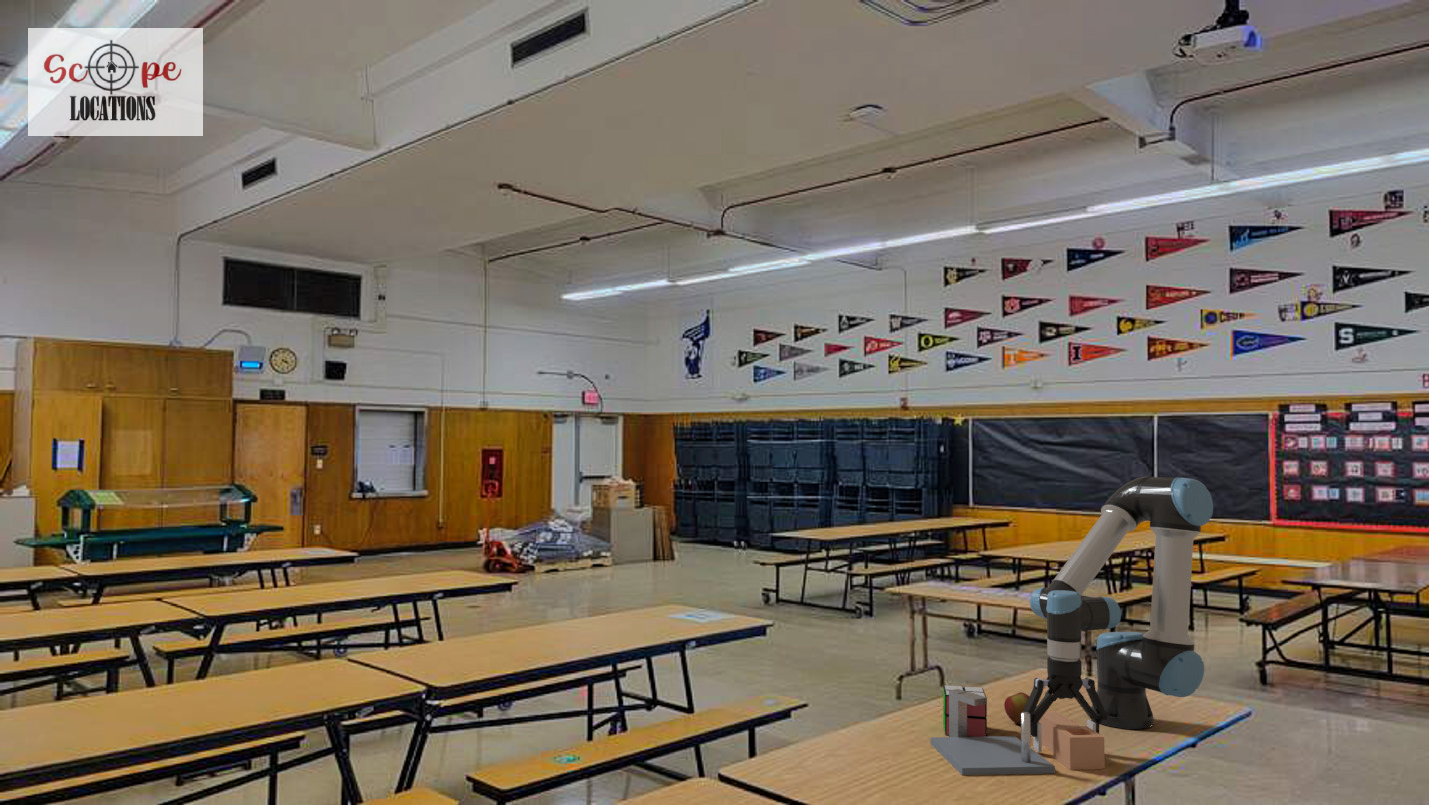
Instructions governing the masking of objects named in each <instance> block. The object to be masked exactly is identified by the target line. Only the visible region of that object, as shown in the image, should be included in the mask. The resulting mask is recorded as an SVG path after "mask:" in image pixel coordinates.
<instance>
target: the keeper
mask: <svg viewBox="0 0 1429 805" xmlns="http://www.w3.org/2000/svg"><path fill="white" fill-rule="evenodd" d="M967 704H970V705H973V706H978V705H984V704H987V705H988V697H987V696H986V697H984V696H981V695H978V694H975V693H971V692H966V691H963V690H960V689H954V690H949V736H948V737H967Z"/></svg>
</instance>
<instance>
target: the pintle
mask: <svg viewBox="0 0 1429 805" xmlns="http://www.w3.org/2000/svg"><path fill="white" fill-rule="evenodd" d="M1031 738H1032V736H1031V718H1030V713H1028V712H1021V724H1020V740H1021V761H1022V762H1025V763H1030V762H1031V749H1032V747H1031V746H1032V745H1031V744H1032V743H1031V742H1032V741H1031Z"/></svg>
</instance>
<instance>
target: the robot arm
mask: <svg viewBox="0 0 1429 805" xmlns="http://www.w3.org/2000/svg"><path fill="white" fill-rule="evenodd" d="M1100 513H1101V515H1100V517H1099V518H1098V519H1097V520H1096V522H1095V523H1094V524H1093V526H1092V527H1091V528H1090V530H1089V532H1087V534H1086V535H1085V537H1084V538H1083V540H1081V542H1080V543H1079V545H1078V547H1077V548H1076V549H1075V550H1074V552H1073V553H1072V554H1071V555H1070V556H1069V558H1068V560H1067V561H1066V562H1065V563H1064V565H1063V566H1062V567H1061V569H1060V571H1059V572H1058V574H1057V575H1056V576H1055V578H1054V579H1053V580H1052V581H1051V583H1050V584H1049V586H1048V587H1039V588H1036V589H1034V590H1033V591H1032V593H1031V595H1030V598H1029V606H1030V609H1031V611H1032V612H1033V613H1034V615H1036V616H1037V617H1040V618H1043V619H1046V628H1047V629H1046V632H1047V634H1046V635H1047V636H1046V637H1047V639H1046V641H1047V642H1046V645H1047V646H1046V647H1047V648H1046V651H1047V655H1048V657H1047V659H1046V660H1047V661H1046V664H1047V665H1046V666H1047V667H1046V670H1047V671H1046V672H1047V677H1046V679H1041V678H1040V677H1039V678H1038V677H1035V678H1034V679H1033V687H1032V690H1031V692H1030V694H1029V696H1030V697H1029V699H1028V701H1027V703H1026V706H1025V708H1024V710H1023V712H1028V713H1030V718H1031V737H1033V744H1032V745H1033V748H1032V749H1033V750H1034V751H1035V752H1037V753H1042V751H1043V748H1042V747H1043V745H1042V724H1041V723H1039V720H1040V719H1041V718H1042V716H1043V715H1044V714H1045V712H1046V711H1049V710H1048V709H1049V708H1050V707H1051V706H1052V704H1053V703H1054V702H1056V700H1058V699H1059V700H1065V699H1068V700H1073V699H1075V700H1076V702H1077V703H1078V704H1079V705H1080V707H1081V708H1082V709H1083V711H1084V712H1085V713H1086V714H1087V716H1088V717H1089V719H1087V720H1086V726H1087V727H1089V728H1090V729H1092V730H1094V731H1095V732H1097V733H1098V734H1100V725H1104V726H1108V727H1113V728H1116V729H1117V728H1118V729H1124V730H1125V729H1126V730H1143V729H1142V728H1146V729H1149V728H1148V727H1150V726H1151V725H1153V723H1154V724H1155V722H1154V720H1155V719H1154V713H1153V711H1152V708H1151V705H1150V703H1149V699H1148V697H1147V690H1151V691H1155V692H1158V693H1161V694H1162V695H1163V694H1164V695H1165V696H1173V697H1177V698H1185V697H1189V696H1191V695H1192V694H1194V693H1195V692H1196V690H1197V689H1198V688H1200V686H1201V684H1202V682H1203V680H1204V675H1205V664H1204V661H1203V660H1202V659H1203V658H1202V657H1201V655H1200V654H1199V653H1197V652H1196V651H1195V642H1194V640H1193V639H1191V637H1190V636H1189V622H1190V605H1191V590H1192V589H1191V588H1192V587H1191V586H1192V572H1193V571H1192V569H1193V555H1194V554H1193V551H1194V540H1195V538H1197V537H1198V536H1199V535H1200V534H1201V532H1202V530H1201V529H1202V526H1204V525H1206V524H1208V523H1209V522H1210V519H1211V518H1212V516H1213V513H1214V503H1213V498H1212V496H1211V493H1210V491H1209V489H1207V486H1206V485H1205V484H1203V483H1202V482H1201V481H1199V480H1197V479H1193V478H1188V477H1179V476H1178V477H1172V476H1171V477H1167V476H1164V477H1163V476H1149V475H1148V476H1141V477H1137V478H1135V479H1132V480H1130V481H1129V482H1126V483H1125V484H1123V485H1122V486H1121V487H1120V488H1118V489H1117V490H1116V491H1115V492H1114V493H1113V494H1111V496H1110V497H1109V498H1108V500H1106V502H1105V503H1104V504H1103V505H1102V506H1101V509H1100ZM1143 522H1149V529H1150V530H1151V531H1152V533H1154V536H1155V539H1154V540H1155V541H1154V558H1153V572H1152V574H1153V575H1152V589H1151V590H1152V591H1151V608H1150V625H1149V627H1150V628H1149V630H1147V632H1145V633H1142V632H1137V631H1111V632H1110V631H1109V632H1103V633H1101V634H1099V635H1098V637H1097V642H1096V643H1097V644H1096V669H1097V671H1096V672H1097V673H1096V675H1097V677H1096V678H1097V688H1096V682H1095V680H1093V679H1092V678H1089V677H1085V678H1083V679H1082V661H1081V658H1082V632H1084V631H1096V630H1098V631H1099V630H1103V631H1105V630H1108V629H1113V628H1115V627H1116V626H1118V625H1119V624H1120V622H1121V619H1122V618H1121V616H1122V611H1121V607H1120V605H1119V603H1118V602H1117V601H1116V600H1115V599H1113V598H1111V597H1108V596H1098V597H1094V596H1088V595H1084V593H1085V591H1086V590H1087V589H1088V588H1089V586H1090V585H1091V583H1092V582H1093V581H1094V579H1095V578H1096V576H1097V575H1098V574H1099V572H1100V571H1101V569H1102V568H1103V567H1104V565H1105V564H1106V563H1107V561H1108V560H1109V558H1110V557H1111V556H1112V554H1113V553H1114V552H1115V550H1116V549H1117V547H1118V546H1119V545H1120V543H1121V542H1122V540H1123V539H1124V537H1126V535H1127V533H1128V532H1133V531H1135V530H1136V528H1137V527H1138V526H1139V524H1141V523H1143ZM1046 687H1047V688H1048V689H1047V690H1046V692H1045V693H1044V696H1043V697H1042V695H1043V692H1044V689H1046ZM1082 688H1085V691H1086V693H1087V695H1088V697H1089V699H1090V702H1091V705H1090V704H1089V703H1088V701H1087V700H1086V699H1085V696H1084V695H1083V694H1082V693H1081V691H1080V690H1081V689H1082ZM1041 697H1042V699H1041ZM1040 699H1041V700H1040ZM1039 701H1040V702H1039ZM1036 706H1037V707H1036ZM1153 726H1154V725H1153ZM1150 728H1151V727H1150Z"/></svg>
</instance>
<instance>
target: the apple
mask: <svg viewBox="0 0 1429 805" xmlns="http://www.w3.org/2000/svg"><path fill="white" fill-rule="evenodd" d="M1029 697H1030V695H1028V694H1027V693H1025V692H1018V693H1015V694H1013V695H1010V696H1007V697H1006V698H1005V700H1004V710H1005V714H1006V715H1007V717H1008V719H1010V720H1011V721H1012V722H1014V723H1016V724H1018V725H1021V712H1023V710H1024V708H1025V706H1026V703H1027V701H1028V699H1029ZM1037 706H1038V705H1037ZM1037 706H1036V707H1037Z"/></svg>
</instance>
